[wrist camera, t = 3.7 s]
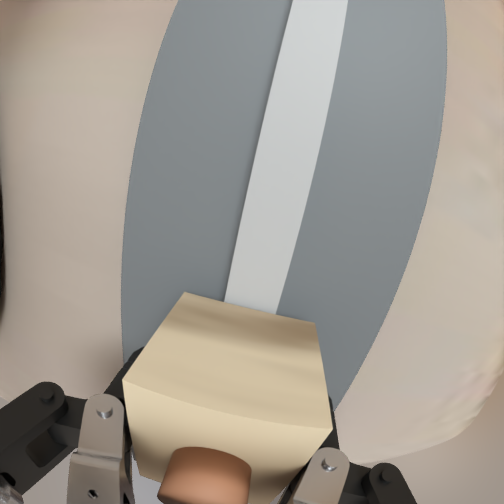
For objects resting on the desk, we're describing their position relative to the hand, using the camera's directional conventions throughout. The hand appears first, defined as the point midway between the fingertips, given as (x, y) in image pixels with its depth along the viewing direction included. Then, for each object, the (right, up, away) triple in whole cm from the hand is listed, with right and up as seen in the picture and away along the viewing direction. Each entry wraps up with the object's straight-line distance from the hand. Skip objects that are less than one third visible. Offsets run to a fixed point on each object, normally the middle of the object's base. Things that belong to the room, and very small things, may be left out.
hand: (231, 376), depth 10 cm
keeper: (0, 0, +1) cm, 1 cm away
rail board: (+2, +8, +1) cm, 9 cm away
